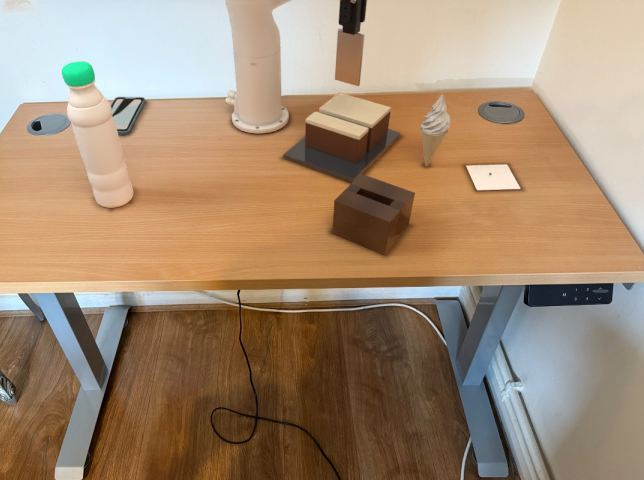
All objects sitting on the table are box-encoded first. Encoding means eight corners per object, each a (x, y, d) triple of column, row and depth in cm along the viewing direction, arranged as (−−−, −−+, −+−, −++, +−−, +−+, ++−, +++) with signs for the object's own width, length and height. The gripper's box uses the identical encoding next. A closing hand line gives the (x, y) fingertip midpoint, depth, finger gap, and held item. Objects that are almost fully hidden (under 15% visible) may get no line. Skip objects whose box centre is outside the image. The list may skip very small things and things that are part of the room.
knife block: (331, 233, 91) (334, 200, 86) (357, 206, 96) (361, 173, 91) (384, 255, 87) (390, 222, 82) (408, 225, 92) (415, 192, 87)
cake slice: (304, 145, 109) (305, 118, 104) (314, 137, 111) (315, 111, 106) (356, 163, 104) (359, 136, 99) (365, 155, 106) (368, 127, 101)
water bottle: (101, 214, 97) (57, 80, 78) (91, 193, 101) (48, 62, 83) (139, 202, 99) (104, 69, 81) (128, 182, 103) (92, 52, 85)
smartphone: (95, 131, 115) (115, 96, 125) (96, 135, 116) (116, 100, 126) (128, 132, 115) (146, 97, 125) (129, 136, 115) (147, 101, 125)
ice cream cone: (439, 174, 102) (457, 100, 91) (412, 171, 103) (427, 98, 92) (439, 159, 105) (456, 86, 95) (413, 157, 106) (427, 85, 95)
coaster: (520, 188, 98) (522, 185, 97) (477, 190, 98) (478, 186, 98) (507, 164, 103) (508, 160, 103) (465, 165, 104) (466, 162, 103)
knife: (332, 81, 98) (338, -14, 87) (338, 77, 99) (344, -18, 88) (356, 88, 96) (365, -9, 85) (361, 83, 97) (371, -13, 86)
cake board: (283, 158, 107) (283, 154, 107) (334, 116, 118) (334, 112, 118) (353, 183, 101) (353, 179, 100) (400, 136, 112) (400, 132, 111)
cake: (317, 134, 111) (318, 108, 107) (337, 118, 116) (339, 92, 111) (369, 151, 106) (372, 124, 102) (387, 134, 111) (391, 107, 106)
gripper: (365, -123, 83) (355, 4, 96) (310, -102, 74) (307, 34, 87) (410, -118, 80) (393, 12, 93) (357, -96, 71) (347, 44, 84)
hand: (351, 22), depth 90 cm, fingers closed on knife, 2 cm apart
